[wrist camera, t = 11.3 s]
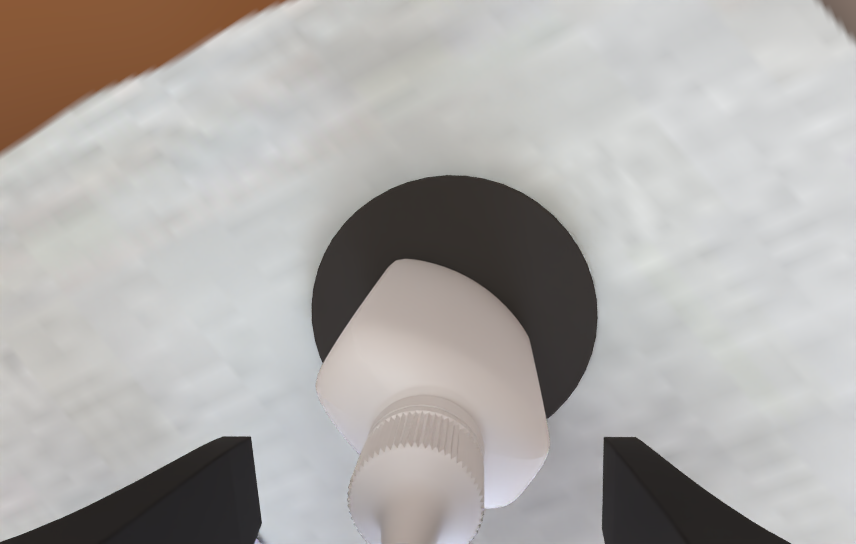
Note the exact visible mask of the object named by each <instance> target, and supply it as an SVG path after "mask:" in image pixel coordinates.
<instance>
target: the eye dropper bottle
mask: <svg viewBox="0 0 856 544" xmlns="http://www.w3.org/2000/svg"><path fill="white" fill-rule="evenodd" d="M316 391H317V394H318V398H319V400H320V402H321V404H322V406H323V408H324V409H325V411H326V413H327V415H328V416H329V418H330V419H331V420H332V422H333V423H334V425H335V426H336V428H337V429H338V430H339V432H340V433H341V434H342V436H343V437H344V438H345V439H346V440H347V441H348V443H349V444H350V445H351V446H352V447H353V448H354V449H355V450H356V451H357V452H358V453H359V454H360V457H359V460H358V462H357V465H356V467H355V470H354V472H353V475H352V478H351V480H350V484H349V487H348V488H349V491H348V496H349V497H348V499H347V500H348V502H349V504H348V507H349V509H350V511H349V513H350V514H351V516H352V517H351V519H352V520H353V522H354V525H355V526H356V528H357V531H358V532H359V533H360V534H361V536H362V537H363V538H364V539H365V541H366V542H368V543H369V544H469V543H470V541H471V540H472V539H474V535H475V534H477V533H478V529H479V528H480V523H481V522H482V517H483V515H484V508H499V507H505V506H506V505H508V504H510V503H511V502H513V501H514V500H516V499H517V498H518V497H519V496H520V494H521V493H522V492H523V491H524V490H525V489H526V487H527V486H528V485H529V484H530V482H531V481H532V480H533V479H534V477H535V476H536V475H537V473H538V472H539V470H540V469H541V467H542V466H543V464H544V463H545V460H546V458H547V455H548V451H549V448H550V439H549V433H548V426H547V420H546V415H545V410H544V405H543V400H542V395H541V390H540V385H539V381H538V376H537V371H536V367H535V362H534V357H533V353H532V348H531V344H530V340H529V337H528V335H527V333H526V332H525V330H524V328H523V327H522V325H521V324H520V323H519V321H518V320H517V319H516V317H515V316H514V315H513V314H512V313H511V311H510V310H509V309H508V308H507V307H506V306H505V305H504V304H503V303H502V302H501V301H500V300H499V299H498V298H497V297H495V296H494V295H493V294H492V293H491V292H489V291H488V290H487V289H485V288H484V287H483V286H481V285H480V284H478V283H477V282H475V281H473V280H472V279H470V278H468V277H466V276H464V275H463V274H461V273H458V272H456V271H454V270H451V269H449V268H446V267H443V266H440V265H437V264H433V263H430V262H426V261H421V260H415V259H401V260H396V261H395V262H394V263H392V264H391V265H390V266H389V267H388V268H387V269H386V271H385V272H384V274H383V275H382V276H381V278H380V279H379V280H378V282H377V283H376V285H375V286H374V287H373V289H372V290H371V291H370V293H369V294H368V296H367V297H366V298H365V300H364V301H363V303H362V304H361V305H360V307H359V308H358V310H357V311H356V313H355V314H354V315H353V317H352V318H351V320H350V321H349V323H348V324H347V326H346V327H345V329H344V330H343V332H342V333H341V335H340V336H339V338H338V340H337V341H336V343H335V344H334V346H333V347H332V349H331V351H330V352H329V354H328V356H327V357H326V359H325V361H324V363H323V364H322V366H321V368H320V370H319V373H318V376H317V381H316Z"/></svg>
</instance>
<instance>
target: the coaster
mask: <svg viewBox="0 0 856 544" xmlns="http://www.w3.org/2000/svg"><path fill="white" fill-rule="evenodd" d="M401 259H415V260H421V261H426V262H430V263H433V264H437V265H440V266H443V267H446V268H449V269H451V270H454V271H456V272H458V273H461V274H463V275H464V276H466V277H468V278H470V279H472V280H473V281H475V282H477V283H478V284H480V285H481V286H483V287H484V288H485V289H487V290H488V291H489V292H491V293H492V294H493V295H494V296H495V297H497V298H498V299H499V300H500V301H501V302H502V303H503V304H504V305H505V306H506V307H507V308H508V309H509V310H510V311H511V313H512V314H513V315H514V316H515V317H516V319H517V320H518V321H519V323H520V324H521V325H522V327H523V328H524V330H525V332H526V333H527V335H528V337H529V340H530V344H531V348H532V353H533V357H534V362H535V367H536V371H537V376H538V381H539V385H540V390H541V395H542V400H543V405H544V410H545V415H546V419H547V418H549V417H550V416H551V415H552V414H554V413H555V412H556V411H557V410H558V408H559V407H560V406H561V405H562V404H563V403H564V402H565V401H566V400H567V399H568V397H569V396H570V395H571V393H572V392H573V391H574V389H575V388H576V387H577V385H578V383H579V381H580V379H581V378H582V376H583V374H584V372H585V370H586V368H587V365H588V362H589V360H590V357H591V355H592V351H593V347H594V342H595V338H596V329H597V299H596V294H595V289H594V284H593V280H592V277H591V274H590V271H589V268H588V265H587V263H586V261H585V259H584V257H583V255H582V253H581V251H580V249H579V247H578V246H577V244H576V243H575V241H574V240H573V238H572V237H571V236H570V234H569V233H568V231H567V230H566V229H565V228H564V227H563V226H562V224H561V223H560V222H559V221H558V220H557V219H556V218H555V217H554V216H553V215H552V214H551V213H550V212H549V211H547V210H546V209H545V208H544V207H542V206H541V205H540V204H539V203H538V202H536V201H534V200H533V199H531V198H530V197H528V196H526V195H525V194H523V193H521V192H519V191H517V190H515V189H513V188H510V187H508V186H506V185H504V184H500V183H497V182H494V181H490V180H487V179H482V178H476V177H470V176H452V175H445V176H436V177H427V178H423V179H419V180H415V181H410V182H407V183H405V184H402V185H400V186H397V187H394V188H392V189H390V190H388V191H386V192H384V193H383V194H381V195H379V196H377V197H375V198H374V199H372V200H371V201H369V202H368V203H367V204H365V205H364V206H363V207H361V208H360V209H359V210H358V211H356V212H355V213H354V214H353V215H352V216H351V217H350V218H349V219H348V220H347V221H346V222H345V223H344V225H343V226H342V227H341V229H340V230H339V231H338V232H337V234H336V235H335V236H334V238H333V239H332V241H331V243H330V245H329V246H328V248H327V250H326V252H325V253H324V256H323V258H322V261H321V263H320V266H319V268H318V271H317V275H316V279H315V283H314V288H313V297H312V325H313V331H314V337H315V342H316V345H317V348H318V352H319V355H320V358H321V360H322V362H323V363H324V361H325V359H326V357H327V356H328V354H329V352H330V351H331V349H332V347H333V346H334V344H335V343H336V341H337V340H338V338H339V336H340V335H341V333H342V332H343V330H344V329H345V327H346V326H347V324H348V323H349V321H350V320H351V318H352V317H353V315H354V314H355V313H356V311H357V310H358V308H359V307H360V305H361V304H362V303H363V301H364V300H365V298H366V297H367V296H368V294H369V293H370V291H371V290H372V289H373V287H374V286H375V285H376V283H377V282H378V280H379V279H380V278H381V276H382V275H383V274H384V272H385V271H386V269H387V268H388V267H389V266H390V265H391V264H392V263H394V262H395V261H396V260H401Z"/></svg>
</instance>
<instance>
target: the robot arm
mask: <svg viewBox="0 0 856 544" xmlns="http://www.w3.org/2000/svg"><path fill="white" fill-rule="evenodd" d="M261 524H262V521H261V513H260V505H259V497H258V489H257V481H256V473H255V465H254V457H253V449H252V441H251V437H221V438H218V439H216V440H213V441H211V442H209V443H207V444H205V445H203V446H201V447H199V448H197V449H195V450H193V451H191V452H189V453H188V454H186V455H184V456H182V457H180V458H178V459H177V460H175V461H173V462H171V463H169V464H167V465H166V466H164V467H162V468H160V469H158V470H156V471H155V472H153V473H151V474H149V475H147V476H145V477H144V478H142V479H140V480H138V481H136V482H134V483H132V484H130V485H128V486H126V487H124V488H122V489H120V490H118V491H116V492H115V493H113V494H111V495H109V496H107V497H105V498H103V499H101V500H99V501H97V502H95V503H93V504H91V505H89V506H87V507H85V508H82V509H80V510H78V511H76V512H74V513H72V514H69V515H67V516H65V517H63V518H60V519H58V520H56V521H53V522H51V523H48V524H46V525H44V526H41V527H39V528H36V529H34V530H32V531H29V532H27V533H24V534H21V535H19V536H16V537H13V538H10V539H8V540H5V541H2V542H0V544H261V543H260V542H259V540H258V539H256V538H257V535H258V532H259V529H260V527H261ZM602 531H603V536H604V541H605V544H791V543H789V542H787V541H786V540H784V539H782V538H780V537H778V536H777V535H775V534H773V533H771V532H769V531H768V530H766V529H764V528H762V527H761V526H759V525H757V524H756V523H754V522H752V521H751V520H749V519H748V518H746V517H745V516H743V515H742V514H740V513H739V512H737V511H735V510H734V509H732V508H731V507H729V506H728V505H726V504H725V503H723V502H722V501H720V500H719V499H717V498H716V497H715V496H713V495H712V494H710V493H709V492H708V491H706V490H705V489H703V488H702V487H701V486H699V485H698V484H696V483H695V482H694V481H692V480H691V479H690V478H688V477H687V476H686V475H685V474H683V473H682V472H681V471H679V470H678V469H677V468H675V467H674V466H673V465H672V464H670V463H669V462H668V461H666V460H665V459H664V458H663V457H661V456H660V455H659V454H658V453H656V452H655V451H654V450H652V449H651V448H650V447H649V446H647V445H646V444H645V443H643V442H642V441H641V440H639V439H638V438H636V437H604V455H603V507H602Z"/></svg>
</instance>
